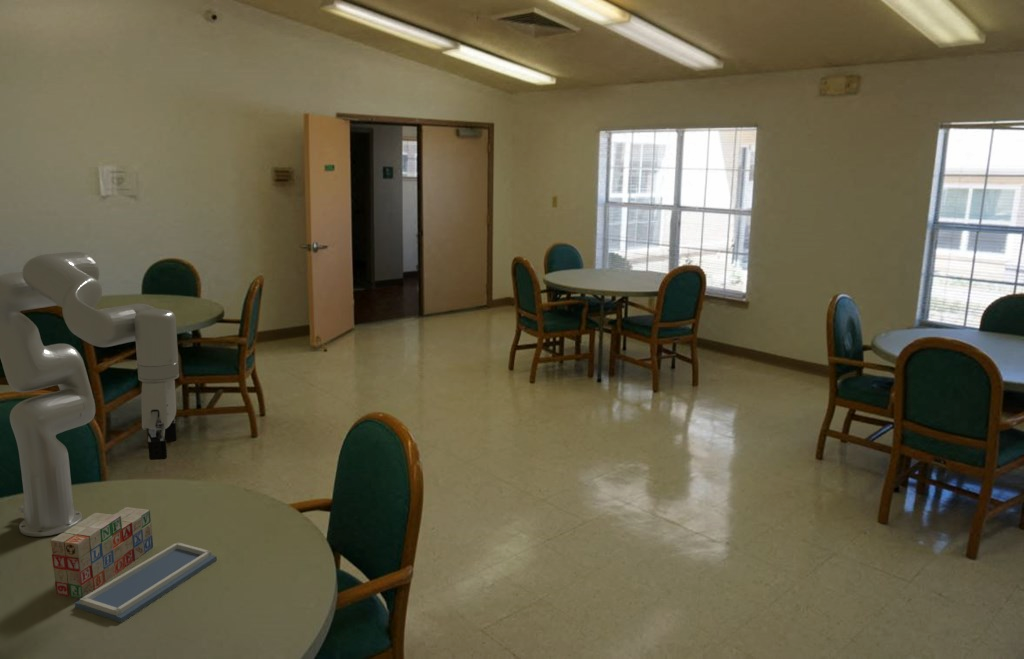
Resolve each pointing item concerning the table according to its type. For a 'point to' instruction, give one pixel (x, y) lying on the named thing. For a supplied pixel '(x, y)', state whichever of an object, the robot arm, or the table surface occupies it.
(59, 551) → the stack of blocks
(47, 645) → the table surface
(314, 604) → the table surface
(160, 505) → the table surface
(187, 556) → the shallow rectangular tray
